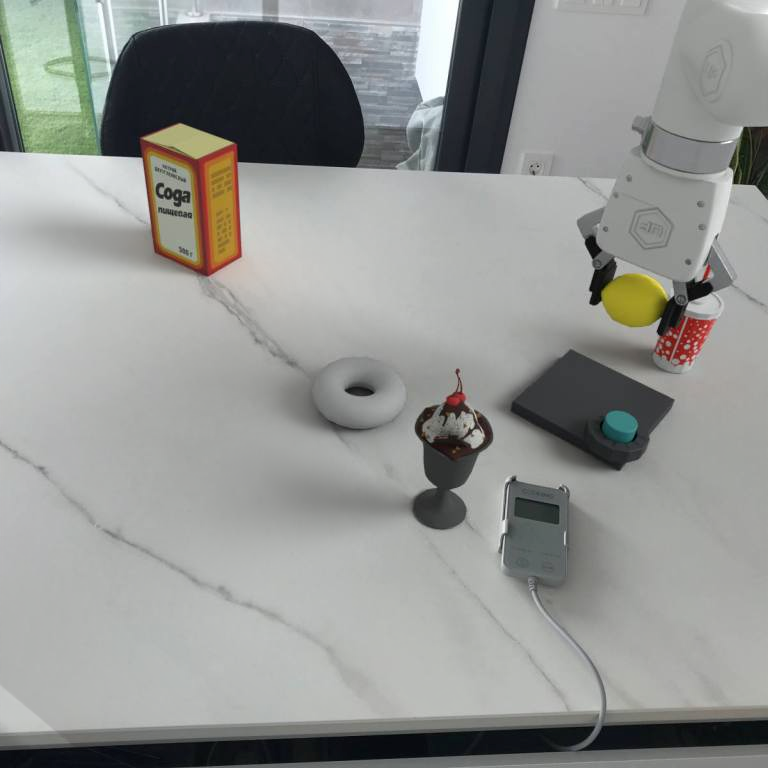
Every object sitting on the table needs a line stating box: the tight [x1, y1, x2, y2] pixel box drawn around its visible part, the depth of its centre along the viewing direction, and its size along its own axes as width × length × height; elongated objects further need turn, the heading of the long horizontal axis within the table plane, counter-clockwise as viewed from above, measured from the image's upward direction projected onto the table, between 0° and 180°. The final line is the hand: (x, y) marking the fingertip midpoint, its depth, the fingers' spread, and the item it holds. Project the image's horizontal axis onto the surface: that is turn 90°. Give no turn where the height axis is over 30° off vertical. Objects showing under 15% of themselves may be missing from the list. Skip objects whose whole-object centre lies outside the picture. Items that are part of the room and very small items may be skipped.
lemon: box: [601, 272, 669, 328], centre depth 78 cm, size 7×5×5 cm
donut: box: [311, 356, 408, 430], centre depth 81 cm, size 10×4×10 cm
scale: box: [510, 348, 676, 471], centre depth 83 cm, size 14×14×3 cm
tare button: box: [602, 411, 638, 443], centre depth 78 cm, size 3×3×2 cm
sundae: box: [413, 368, 494, 530], centre depth 67 cm, size 7×7×15 cm
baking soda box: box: [139, 122, 243, 277], centre depth 98 cm, size 10×6×16 cm
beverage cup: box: [652, 264, 726, 375], centre depth 88 cm, size 6×6×14 cm
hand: (631, 313), depth 79 cm, fingers closed on lemon, 6 cm apart
